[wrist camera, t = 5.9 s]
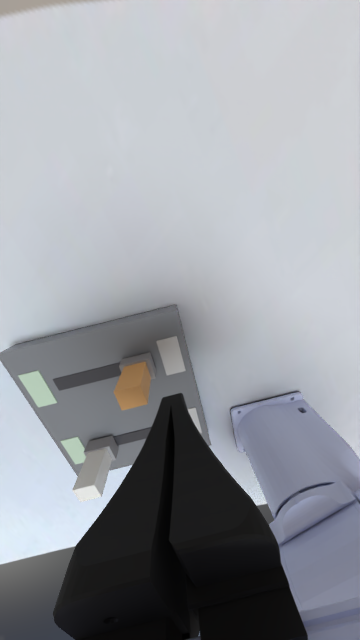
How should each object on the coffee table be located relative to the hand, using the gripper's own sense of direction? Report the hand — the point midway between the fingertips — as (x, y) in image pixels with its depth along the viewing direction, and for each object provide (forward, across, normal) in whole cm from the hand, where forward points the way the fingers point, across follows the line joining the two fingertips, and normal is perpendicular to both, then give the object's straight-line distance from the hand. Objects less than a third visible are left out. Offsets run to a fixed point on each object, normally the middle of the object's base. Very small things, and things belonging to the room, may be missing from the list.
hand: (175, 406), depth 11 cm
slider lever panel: (+8, +7, +4) cm, 12 cm away
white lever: (+6, +10, +9) cm, 15 cm away
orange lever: (+6, +3, 0) cm, 7 cm away
